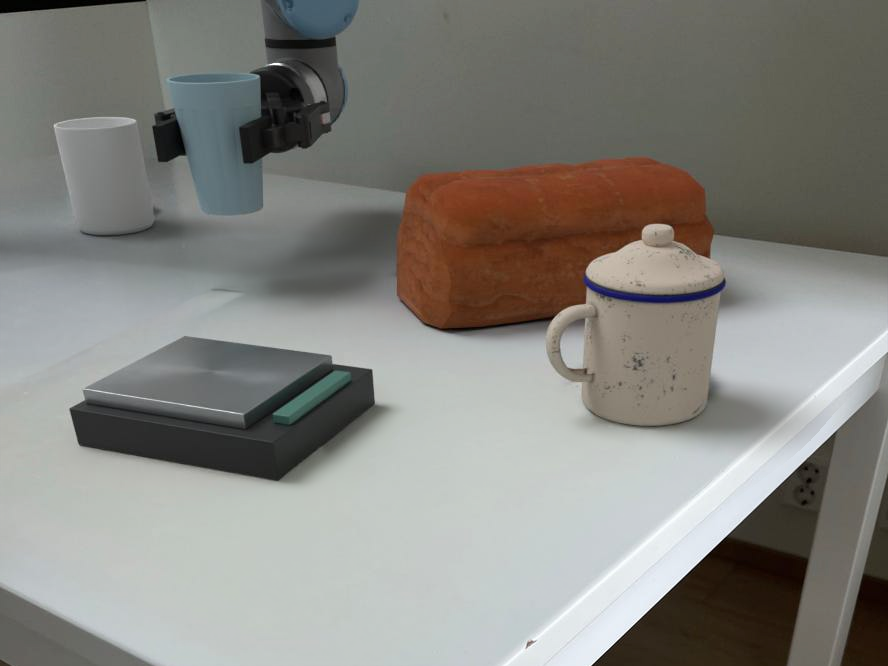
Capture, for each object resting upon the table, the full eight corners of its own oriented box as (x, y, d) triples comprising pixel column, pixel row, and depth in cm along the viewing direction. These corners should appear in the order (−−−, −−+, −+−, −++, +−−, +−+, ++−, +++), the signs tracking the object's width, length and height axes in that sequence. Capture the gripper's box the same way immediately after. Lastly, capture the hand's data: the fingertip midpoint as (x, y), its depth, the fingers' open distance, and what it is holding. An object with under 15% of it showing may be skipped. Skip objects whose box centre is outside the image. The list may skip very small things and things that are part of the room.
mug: (159, 210, 121) (141, 111, 115) (153, 233, 111) (133, 126, 105) (85, 214, 119) (63, 114, 113) (73, 238, 110) (47, 130, 104)
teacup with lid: (667, 372, 74) (684, 205, 68) (735, 417, 67) (761, 235, 61) (519, 396, 71) (521, 222, 64) (574, 445, 64) (583, 256, 57)
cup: (256, 220, 86) (237, 82, 80) (173, 217, 87) (149, 81, 81) (288, 202, 92) (273, 72, 86) (210, 199, 93) (191, 72, 88)
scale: (78, 444, 65) (64, 393, 63) (195, 377, 75) (187, 330, 73) (278, 480, 60) (270, 426, 58) (375, 403, 70) (371, 354, 68)
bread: (725, 303, 88) (742, 172, 82) (437, 340, 81) (432, 200, 75) (643, 260, 100) (652, 143, 94) (386, 288, 93) (378, 164, 87)
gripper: (378, 149, 102) (322, 196, 83) (193, 146, 104) (98, 191, 85) (373, 64, 98) (313, 94, 79) (180, 63, 100) (78, 92, 81)
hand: (202, 144), depth 82 cm, fingers closed on cup, 7 cm apart
